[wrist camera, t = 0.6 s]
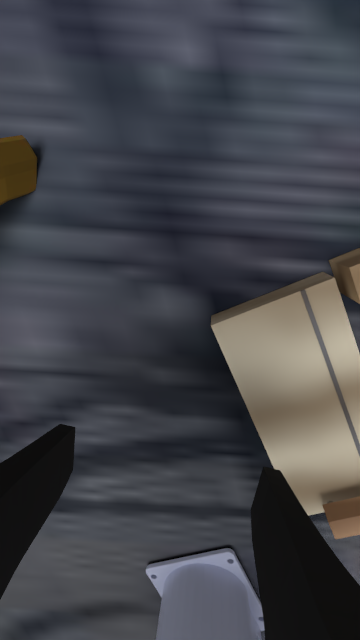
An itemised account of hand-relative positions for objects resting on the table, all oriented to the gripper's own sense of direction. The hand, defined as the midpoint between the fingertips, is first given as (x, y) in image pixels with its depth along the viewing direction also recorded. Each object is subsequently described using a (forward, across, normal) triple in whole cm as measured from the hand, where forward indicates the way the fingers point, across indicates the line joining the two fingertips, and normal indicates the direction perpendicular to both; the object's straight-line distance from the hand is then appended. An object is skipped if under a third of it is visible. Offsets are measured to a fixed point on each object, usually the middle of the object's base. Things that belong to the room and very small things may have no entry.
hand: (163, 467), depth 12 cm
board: (+10, -8, +1) cm, 13 cm away
